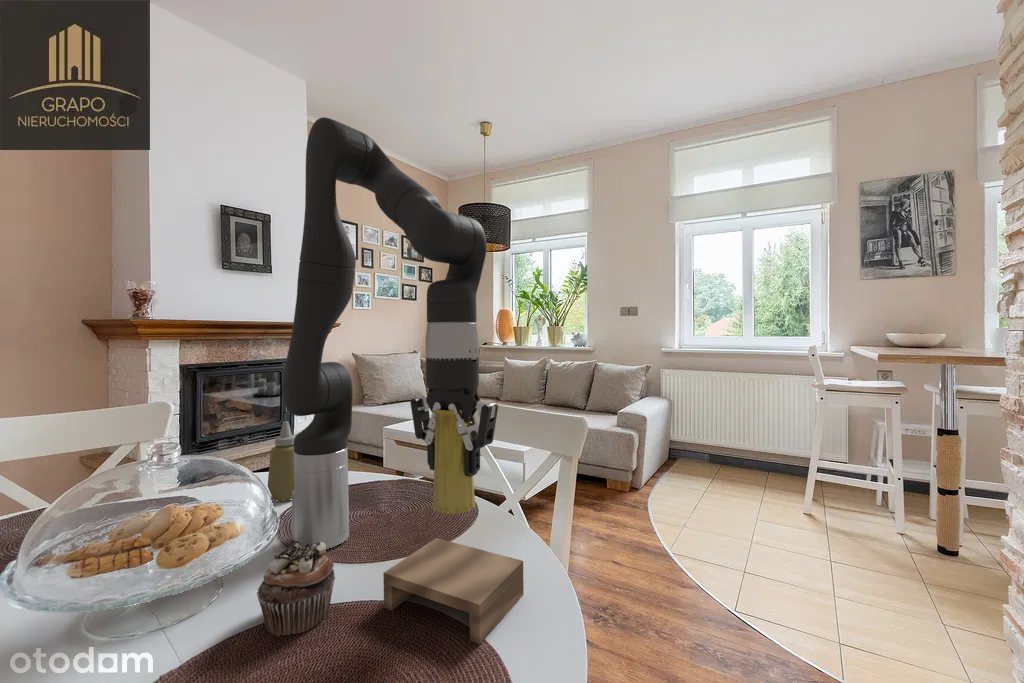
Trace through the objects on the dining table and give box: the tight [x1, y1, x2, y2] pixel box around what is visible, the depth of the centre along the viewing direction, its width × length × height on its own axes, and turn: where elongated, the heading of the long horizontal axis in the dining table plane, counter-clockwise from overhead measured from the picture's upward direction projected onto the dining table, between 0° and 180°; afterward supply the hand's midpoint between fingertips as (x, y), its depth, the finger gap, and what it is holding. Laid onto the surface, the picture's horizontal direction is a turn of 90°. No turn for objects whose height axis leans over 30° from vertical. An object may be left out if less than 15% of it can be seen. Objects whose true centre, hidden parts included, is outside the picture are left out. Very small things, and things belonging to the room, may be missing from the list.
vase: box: [432, 409, 476, 515], centre depth 65 cm, size 6×6×14 cm
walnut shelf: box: [382, 537, 525, 645], centre depth 65 cm, size 16×12×5 cm
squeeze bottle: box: [267, 420, 296, 502], centre depth 106 cm, size 8×8×18 cm
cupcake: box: [256, 541, 336, 637], centre depth 62 cm, size 10×10×10 cm
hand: (453, 471), depth 65 cm, fingers closed on vase, 5 cm apart
